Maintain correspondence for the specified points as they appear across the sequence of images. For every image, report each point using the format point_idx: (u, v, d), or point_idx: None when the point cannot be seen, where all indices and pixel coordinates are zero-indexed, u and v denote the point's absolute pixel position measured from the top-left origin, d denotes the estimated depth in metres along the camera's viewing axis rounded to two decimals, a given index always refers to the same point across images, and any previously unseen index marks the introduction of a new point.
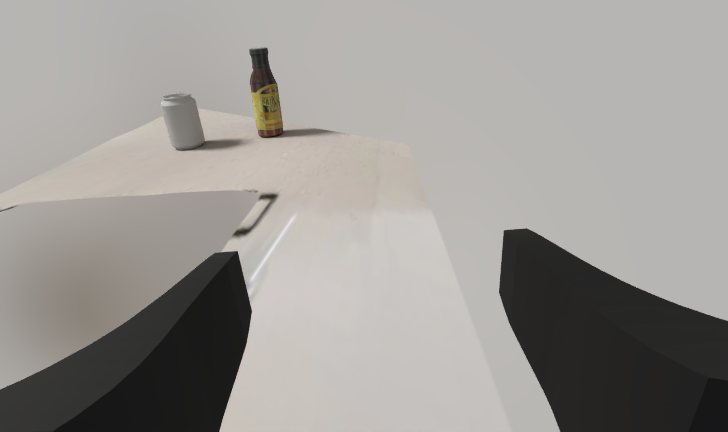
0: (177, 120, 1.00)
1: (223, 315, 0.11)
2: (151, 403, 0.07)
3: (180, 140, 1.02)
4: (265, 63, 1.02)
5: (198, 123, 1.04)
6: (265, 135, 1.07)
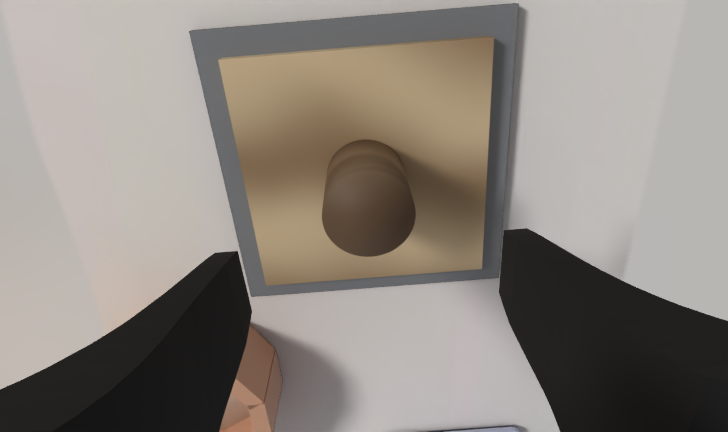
0: None
1: (223, 315, 0.11)
2: (151, 403, 0.07)
3: None
4: None
5: None
6: None
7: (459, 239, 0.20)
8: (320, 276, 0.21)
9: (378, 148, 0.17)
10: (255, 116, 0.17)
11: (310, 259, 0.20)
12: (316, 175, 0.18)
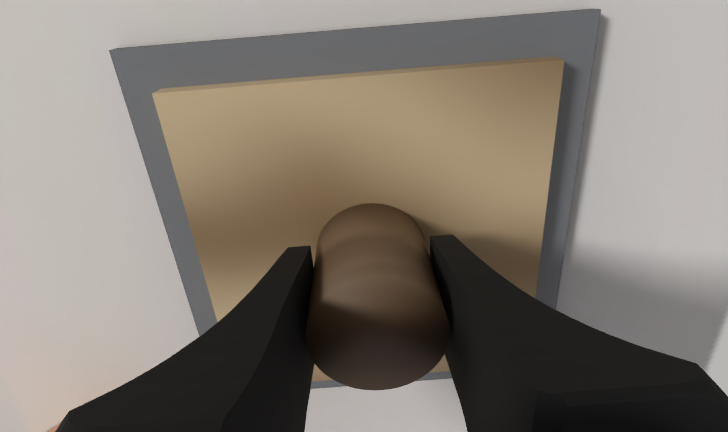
0: None
1: (305, 309, 0.11)
2: (270, 394, 0.07)
3: None
4: None
5: None
6: None
7: None
8: None
9: (390, 220, 0.12)
10: (211, 172, 0.12)
11: None
12: None
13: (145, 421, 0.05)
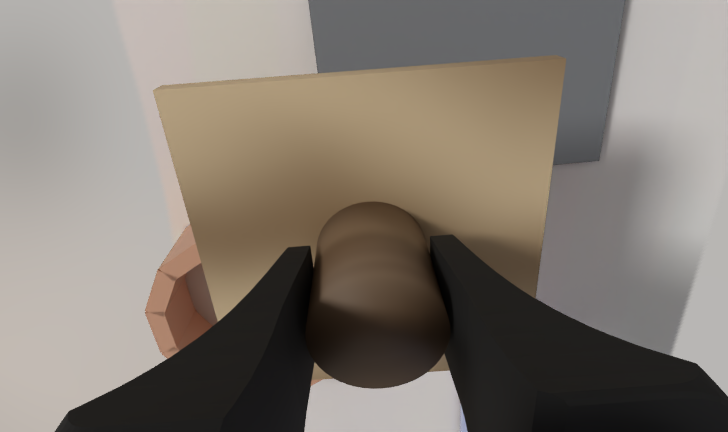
0: None
1: (305, 309, 0.11)
2: (270, 394, 0.07)
3: None
4: None
5: None
6: None
7: None
8: None
9: (391, 219, 0.12)
10: (212, 169, 0.12)
11: None
12: None
13: (145, 421, 0.05)
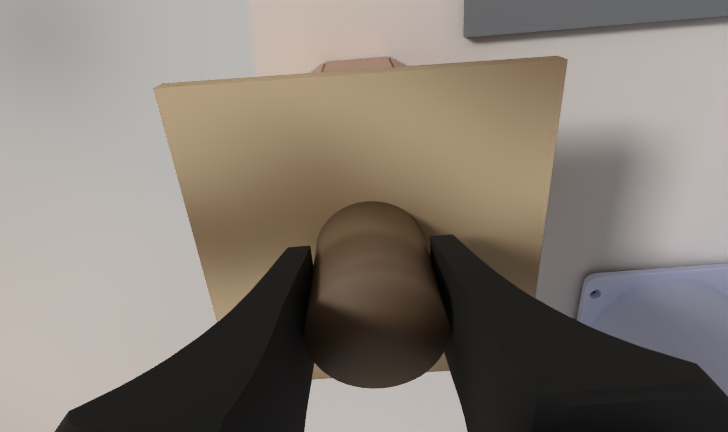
0: None
1: (304, 309, 0.11)
2: (270, 394, 0.07)
3: None
4: None
5: None
6: None
7: None
8: None
9: (390, 218, 0.12)
10: (212, 168, 0.12)
11: None
12: None
13: (145, 421, 0.05)
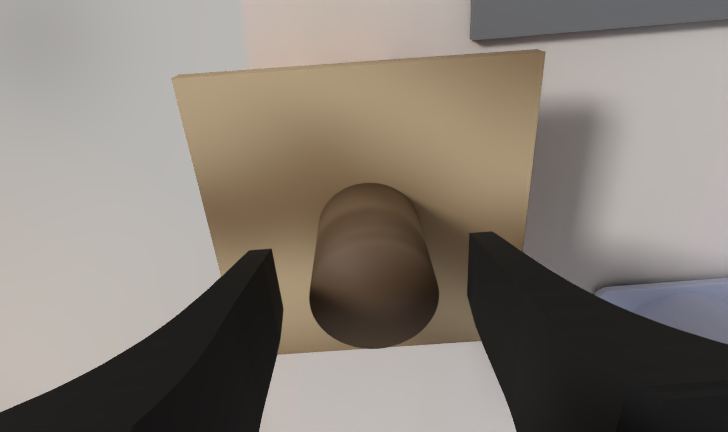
0: None
1: (261, 312, 0.11)
2: (207, 398, 0.07)
3: None
4: None
5: None
6: None
7: None
8: (310, 346, 0.16)
9: (386, 197, 0.13)
10: (223, 151, 0.13)
11: (296, 327, 0.16)
12: (305, 226, 0.14)
13: (58, 428, 0.05)
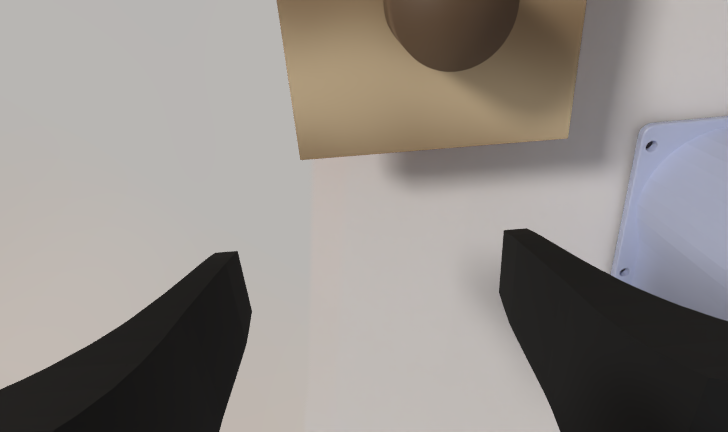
0: None
1: (223, 315, 0.11)
2: (151, 403, 0.07)
3: None
4: None
5: None
6: None
7: (543, 95, 0.16)
8: (368, 147, 0.17)
9: None
10: None
11: (356, 123, 0.16)
12: None
13: None
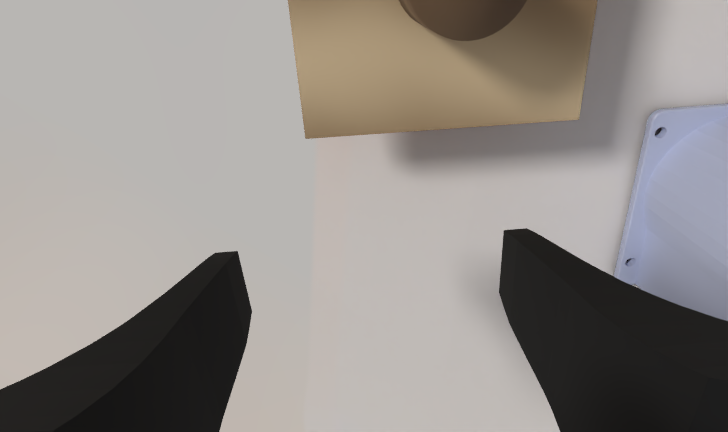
0: None
1: (223, 315, 0.11)
2: (151, 403, 0.07)
3: None
4: None
5: None
6: None
7: (555, 74, 0.16)
8: (375, 126, 0.16)
9: None
10: None
11: (363, 101, 0.16)
12: None
13: None
